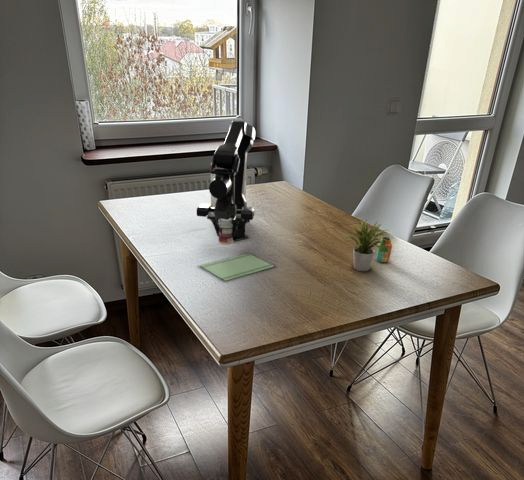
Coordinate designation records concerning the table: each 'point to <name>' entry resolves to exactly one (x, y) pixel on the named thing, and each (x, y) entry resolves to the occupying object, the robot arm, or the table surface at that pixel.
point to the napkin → (236, 266)
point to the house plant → (365, 246)
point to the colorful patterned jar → (384, 250)
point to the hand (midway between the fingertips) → (225, 236)
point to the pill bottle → (225, 231)
